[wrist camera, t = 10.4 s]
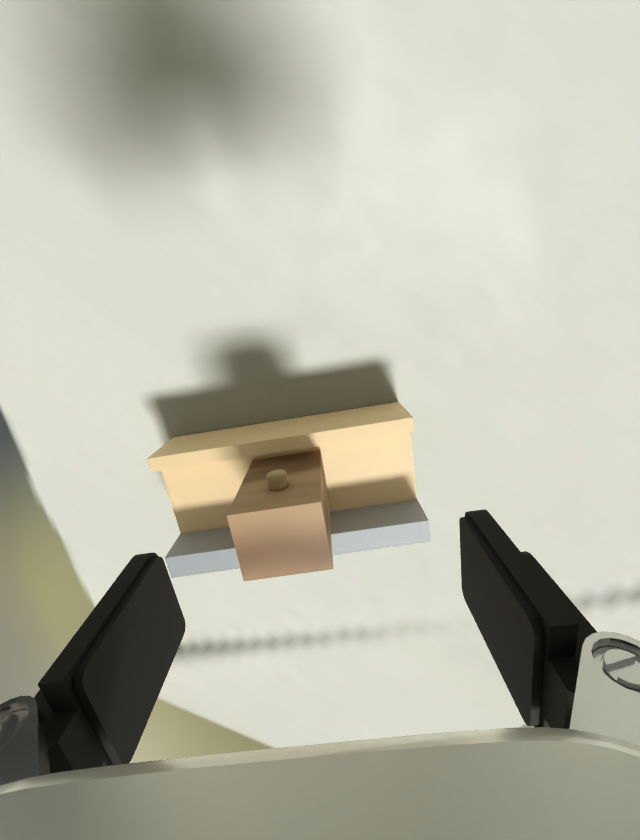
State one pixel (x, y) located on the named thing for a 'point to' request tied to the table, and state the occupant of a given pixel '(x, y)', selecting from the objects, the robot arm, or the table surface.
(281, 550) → the cabinet block
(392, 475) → the cleat board
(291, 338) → the table surface
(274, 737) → the table surface
